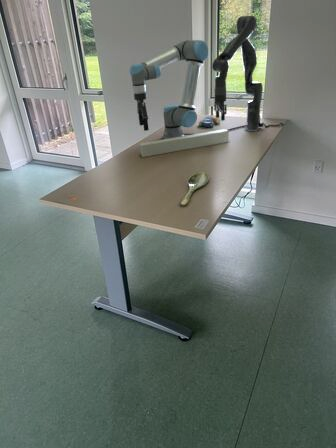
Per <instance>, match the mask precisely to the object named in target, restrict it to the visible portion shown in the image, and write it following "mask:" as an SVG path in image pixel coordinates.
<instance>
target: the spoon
mask: <svg viewBox="0 0 336 448" xmlns="http://www.w3.org/2000/svg"><path fill="white" fill-rule="evenodd" d="M209 180H210V176H209V174H208V173H206V172H203V171H200V172H199V171H198V172H195V173H194V174H192V175H191V176H189V178H188V180H187V185H188V187H189V188H188V189H189V190H188V192H187V193H186V195H185V196H184V197H183V198H182V200H181V202H180V206H183V207H185V206H187V205H188V203H189V201H190V199H191V197H192V195H193V193H194V191H196V190H197V189H199V188H201V187H203V186H205V185H206V184H207V183H208V182H209Z"/></svg>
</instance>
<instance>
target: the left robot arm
mask: <svg viewBox="0 0 336 448" xmlns="http://www.w3.org/2000/svg"><path fill="white" fill-rule="evenodd" d="M209 49H210V48H209V46H208V44H207V42H206V41H205V40H202V39H193V40H184V41H181V42H179V43H177V44H175V45H172V46H170V48H169V49H168V50H166V51H163V52H162V53H160V54H158V55H156V56H154V57H151V58H150V59H149V58H148V59H147V60H145V61H143V62H140V63H134V64H131V65H130V68H129V75H130V76H131V82H132V84H131V85H132V92H133V99H134V101H136V110H137V115H138V123H139V126H143V131H144V132H147V131H149V129H150V128H149V121H148V120H149V116H148V111H147V106H146V102H145V101H144V100H147V99H148V97H147V92H146V91H147V89H146V88H147V85H146V81H150V80H156V79H159V78H160V77H161V76H162V68H164V67H166V66H168V65H170V64H172V63H179V62H180V61H185V63H186V66H187V67H186V71H185V78H184V82H183V83H184V84H183V90H182V94H181V100H180V101H181V102H180V103H179V104H172V105H166V106H165V107H163V113H162V114H163V123H164V130H163V135H162V140H164V139H170V138H176V137H182V136H187V135H193V134H194V133H184V132H183V129H182V128H192V127H193V126H194V125H195V124H196V123H197V119H198V114H197V111H196V106H195V101H196V93H197V87H198V82H199V77H200V70H201V68H202V66H204V62H205V61H206V60H207V59H208V57H209V54H210V50H209ZM239 128H246V124H244V125H240V126H236V127H231V128H228V129H226V130H228V131H232V130H236V129H239Z"/></svg>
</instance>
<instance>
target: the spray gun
mask: <svg viewBox="0 0 336 448" xmlns="http://www.w3.org/2000/svg"><path fill="white" fill-rule="evenodd" d="M221 122H222V120H221V117H219V118H216V116H205V117H204V118H203V119H201V120H200V121H199V122H198V126H200V127H205V128H209V127H214V126H215V124H217V125H218V124H220V123H221Z"/></svg>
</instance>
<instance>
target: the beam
mask: <svg viewBox="0 0 336 448" xmlns="http://www.w3.org/2000/svg"><path fill="white" fill-rule="evenodd" d="M192 134H193V135H184V136H182V137H176V138H170V139H157V140H153V141H147V142H140V143H139V151H140V156H141V157H142V158H144V157H152V156H157V155H162V154H167V153H173V152H179V151H185V150H190V149H196V148H201V147H207V146H213V145H218V144H225V143H229V130H227V129H226V128H223V129H218V130H212V131H206V132H200V133H192Z"/></svg>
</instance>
